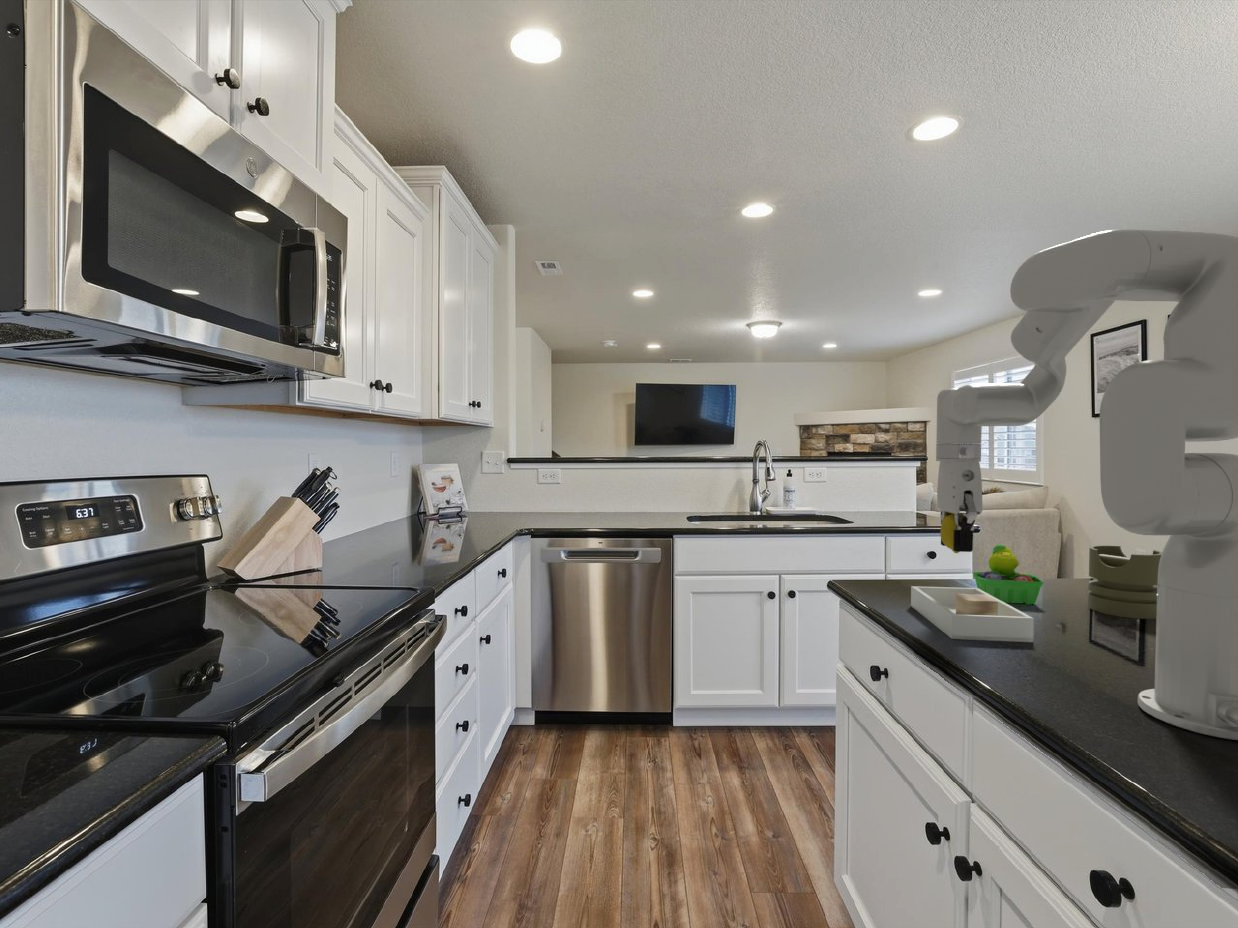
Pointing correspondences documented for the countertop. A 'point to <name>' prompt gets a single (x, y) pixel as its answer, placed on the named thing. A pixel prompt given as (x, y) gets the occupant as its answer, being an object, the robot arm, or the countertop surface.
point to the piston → (1123, 582)
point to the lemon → (948, 531)
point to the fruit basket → (1007, 579)
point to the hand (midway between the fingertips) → (956, 547)
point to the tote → (971, 616)
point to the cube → (976, 605)
